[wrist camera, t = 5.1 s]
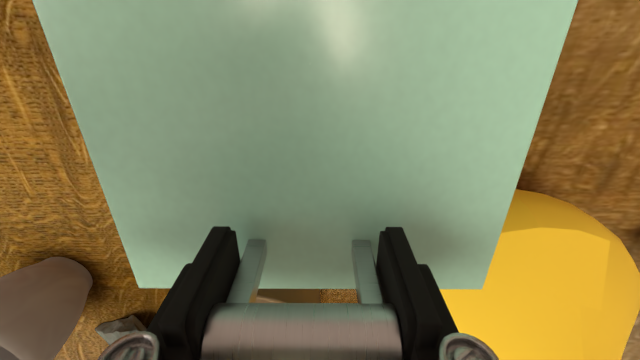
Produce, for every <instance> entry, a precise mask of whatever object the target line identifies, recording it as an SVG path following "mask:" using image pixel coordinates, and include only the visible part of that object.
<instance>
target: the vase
mask: <svg viewBox="0 0 640 360" xmlns="http://www.w3.org/2000/svg"><path fill="white" fill-rule="evenodd" d="M439 290H440V292H441V294H442V296H443V298H444V300H445V303H446V305H447V307H448V309H449V311H450V314H451V316H452V318H453V320H454V322H455V325H456V327H457V329H458V331H459V333H465V334H469V335H471V336H474V337H476V338H478V339H480V340H481V341H483V342H484V343H486V344H487V345H488V346H489V347H490V348H491V349H492V350H493V351H494V353H495V354H496V355H497V357H498V358H499V360H621V358H622V354H623V351H624V348H625V345H626V343H627V340H628V338H629V335H630V333H631V330H632V328H633V325H634V322H635V320H636V317H637V315H638V312H639V310H640V273H639V271H638V269H637V267H636V265H635V263H634V261H633V259H632V257H631V256H630V254H629V253H628V251H627V249H626V248H625V246H624V245H623V243H622V242H621V240H620V239H619V238H618V237H617V236H616V235H615V234H613V233H612V232H611V231H610V230H608V229H607V228H606V227H605V226H603V225H602V224H601V223H600V222H598V221H597V220H596V219H594V218H593V217H591V216H589V215H588V214H586V213H585V212H583V211H582V210H580V209H579V208H577V207H576V206H574V205H572V204H571V203H568V202H565V201H562V200H559V199H556V198H554V197H551V196H548V195H545V194H542V193H536V192H530V191H524V190H518V189H515V192H514V195H513V198H512V201H511V204H510V207H509V210H508V213H507V216H506V219H505V222H504V225H503V228H502V231H501V234H500V237H499V240H498V243H497V246H496V249H495V252H494V255H493V258H492V261H491V264H490V267H489V270H488V273H487V276H486V279H485V282H484V285H483V288H482V289H439Z"/></svg>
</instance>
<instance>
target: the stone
mask: <svg viewBox="0 0 640 360" xmlns="http://www.w3.org/2000/svg"><path fill="white" fill-rule="evenodd" d="M146 330H147V329H146V328H145V326H144V325H143V324H142V323H141V322H140V321H139V320H138V319H137V318H136V317H135V316H134V315H131V316H130V317H129V318H126V319H120V320H116V321H113V322H107V323H103V324H101V325H99V326H98V327H97V328H95V331H96V332H97V333H98V334H99V335H100V336H101V337H102V338H103V339H105V340H106V342H107V343H108V344H109V345H111V344H112V343H113V342H115V341H116V340H118V339H119V338H121V337H123V336H125V335H127V334H130V333H133V332H139V331H146Z"/></svg>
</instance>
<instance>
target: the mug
mask: <svg viewBox="0 0 640 360" xmlns="http://www.w3.org/2000/svg"><path fill="white" fill-rule="evenodd" d="M92 284H93V280H92V277H91V274H90V273H89V271H88V270H87V269H86V268H85V267H84V266H82V265H81V264H79V263H78V262H76V261H74V260H71V259H68V258H65V257H50V258H47V259H45V260H43V261H41V262H39V263H36V264H33V265H30V266H27V267H24V268H22V269H19V270H16V271H14V272H11V273H9V274H7V275H5V276H3V277H1V278H0V360H53V359H54V358H55V356H56V355H57V353H58V352H59V351H60V349H61V348H62V346H63V345H64V344H65V342H66V341H67V339H68V337H69V336H70V334H71V333H72V331H73V329H74V328H75V326H76V324H77V322H78V320H79V318H80V316H81V314H82V311H83V309H84V306H85V303H86V299H87V296H88V293H89V290H90V289H91V287H92Z"/></svg>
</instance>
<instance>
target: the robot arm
mask: <svg viewBox="0 0 640 360" xmlns="http://www.w3.org/2000/svg"><path fill="white" fill-rule="evenodd" d="M239 264H240V255H239V249H238V243H237V236H236V232H235V231H234V230H231V228H230V227H229V226H214V227H212V229H211V230H210V232H209V234H208V236H207V237H206V239H205V241H204V243H203V245H202V246H201V248H200V250H199V252H198V253H197V255H196V257H195V259H194V260H193V262H192V263H188V264H186V265H185V266H184V267H183V269H182V270H181V272H180V274H179V276H178V277H177V279H176V281H175V282H174V284H173V286H172V287H171V289H170V291H169V292H168V294H167V296H166V298H165V299H164V301H163V303H162V304H161V306H160V308H159V309H158V311H157V313H156V314H155V316H154V318H153V320H152V321H151V323H150V325H149V326H148V328H147V330H146V331H139V332H133V333H130V334H127V335H125V336H123V337H121V338H119V339H118V340H116V341H115V342H113V343H112V344H111V345H110V346H108V347H107V348H106V349H105V350H104V351H103V353H102V354H101V355H100V356H99V358H98V360H200V343H201V337H202V332H203V328H204V324H205V321H206V319H207V316H208V314H209V312H210V310H211V308H212V307H213V306H214V305H215V304H217V303H226V301H227V298H228V295H229V292H230V289H231V286H232V284H233V281H234V278H235V275H236V272H237V270H238V267H239ZM376 268H377V273H378V277H379V281H380V286H381V290H382V294H383V299H384V303H385V304H392V305H394V307H395V309H396V311H397V313H398V316H399V320H400V324H401V330H402V336H403V346H404V360H499V358H498V357H497V355H496V354H495V353H494V351H493V350H492V349H491V348H490V347H489V346H488V345H487V344H486V343H484V342H483V341H481V340H480V339H478V338H476V337H474V336H471V335H469V334H465V333H459V331H458V329H457V327H456V325H455V322H454V320H453V318H452V316H451V314H450V311H449V309H448V307H447V305H446V303H445V300H444V298H443V296H442V294H441V292H440V290H439V287H438V285H437V283H436V281H435V279H434V276H433V274H432V272H431V270H430V268H429V266H428V265H427V264H417V261H416V259H415V257H414V254H413V252H412V249H411V247H410V244H409V242H408V240H407V237H406V235H405V232H404V230H403V228H402V227H386V228H385V231H380V235H379V244H378V253H377V262H376Z"/></svg>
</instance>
